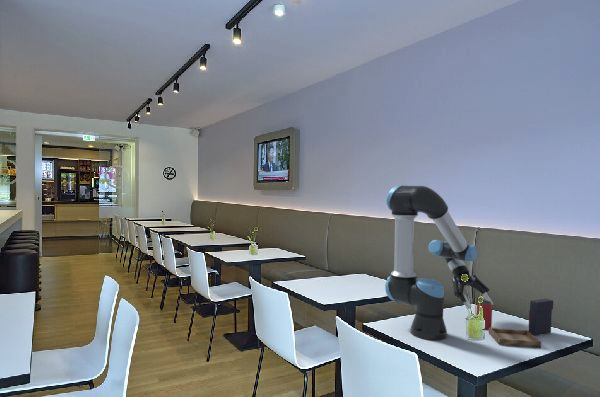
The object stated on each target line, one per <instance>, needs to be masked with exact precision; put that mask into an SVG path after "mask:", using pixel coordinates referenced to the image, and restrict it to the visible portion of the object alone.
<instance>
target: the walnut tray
mask: <svg viewBox="0 0 600 397" xmlns="http://www.w3.org/2000/svg"><path fill="white" fill-rule="evenodd" d="M528 330H529V329H525V330H524V329H511V328H510V329H509V328H501V327H500V328H498V327H491V328H489V329H488V334H489V336H490V337H491V338H492V339H493V340H494V341H495V342H496V343H497V344H498V346H506V347H507V346H509V347H520V348H521V347H523V348H534V349H542V341H541V340H540V339H538V338H537V336H534V335H532V334H531V333H530V332H529V331H528Z"/></svg>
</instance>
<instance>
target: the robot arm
mask: <svg viewBox="0 0 600 397" xmlns="http://www.w3.org/2000/svg"><path fill="white" fill-rule="evenodd" d="M385 201H386V206H387V208H388V210H390V211H391V216H392V217H393V218H394V256H393V257H394V258H393V260H394V262H393V264H394V266H393V270H392V271H391V273H390V275H389V276H388V277H387V279H386V281H385V284H384V286H385V287H384V289H385V293H386V296H387V297H388V298H389V299H390V300H391V301H393V302H396V303H398V304H403V305H407V306H411V307H414V308H415V315H414V317H413V319H412V323H411V325H410V334H411V335H413V336H414V337H417V338H420V339H423V340H424V339H425V340H430V341H438V340H444V339H446V338H447V335H448V331H447V327H446V323H445V321H444V306H445V305H444V301H445V288H444V285H443V284H442V283H441V282H440V281H438V280H435V279H432V278H427V277H420V278H419V277H418V278H417V272H415V271H414V258H415V257H414V255H415V254H414V251H415V250H414V249H415V245H414V244H415V242H414V241H415V219H416V218H417V217H418V216H419V213H423V214H425V215H426V216H427V218H429V220H432V221H433V222H434V224H435V225H436V227H437V229H438V230H439V232H440V233H441V235H442V237H443V238H444V239H445V241H441V240H438V239H433V240H432V241H430V242H429V243H428V251H429V253H430V254H432V255H433V256H435V257H439V258H441V259H444V261H445V263H446V265H447V266H448V268H449V271H451V272H452V273H451V274H452V275H453V277H452V278H451V282H452V284H453V286H452V287H453V294H454V296H455V297H456V298H458V299H460V301H461V302H462V303H463V305H464V306H465V308H466V310H469V309H471V308H472V305H471V303H470V301H469V299H468V297H467V295H466V294H465V293H464V289H465V287H466V286H467V287H468V286H469V287H472V288H474V289H475V290H476V291H478V292H480V293H481V296H482V297H483V300H485V301H489V302H491V305H492V306H493V305H494V302H493V300H492V299H491V296H490V295H489V293H488V292H489V291H490V289H489V288H488V287H487V285H485V283H484V282H482V281H481V280H480V279H479V278H478V277H477V275H476V274H474V275H470V270H469V269H468V267H467V266H466V264H465V262H473V261H475V260H476V259H477V257H478V249H477V247H476V246H475V245H471V244H470V245H469V244H468V242H467V241H466V239H465V237H464V235H463V233H462V232H461V231H460V229H459V227H458V225H457V224H456V221H454V219H453V218H452V215H451V214H450V212H449V206H448V204H447V202H446V201H445V199H444V198H443V197H442V196H441V195H440V194H439V193H437V192H436V191H435V190H433V189H432V188H430V187H428V186H426V185H396V186H393V187H392V188H391V189H390V190H389V191H388V194H387V196H386V200H385ZM464 261H465V262H464ZM462 274H467V275H468V278H469V279H468V281H466V282H464V281H462V280H461V276H462ZM470 307H471V308H470Z"/></svg>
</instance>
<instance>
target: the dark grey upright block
mask: <svg viewBox="0 0 600 397" xmlns="http://www.w3.org/2000/svg"><path fill="white" fill-rule="evenodd" d="M553 309H554V300H552V299H549V298H541V299H540V298H539V299H533V300H530V301H529V311H528V329H527V330H528V331H529V332H530V333H531V334H532V335H534V336H535V337H537V336H542V335H543V336H544V335H546V334H547V335H548V334H551V332H552V311H553Z"/></svg>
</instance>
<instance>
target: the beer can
mask: <svg viewBox="0 0 600 397" xmlns="http://www.w3.org/2000/svg"><path fill="white" fill-rule="evenodd" d="M480 305H481V306H482V308H483V318H484V320H485V329H484V330H489V328H493V326H492V325H493V324H492V323H493V320H492V319H493V305H491V302H489V301H485V299H483V302H482V304H480ZM478 314H479V304H478V303H477V304H476V312H475V316H476V315H478Z"/></svg>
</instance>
